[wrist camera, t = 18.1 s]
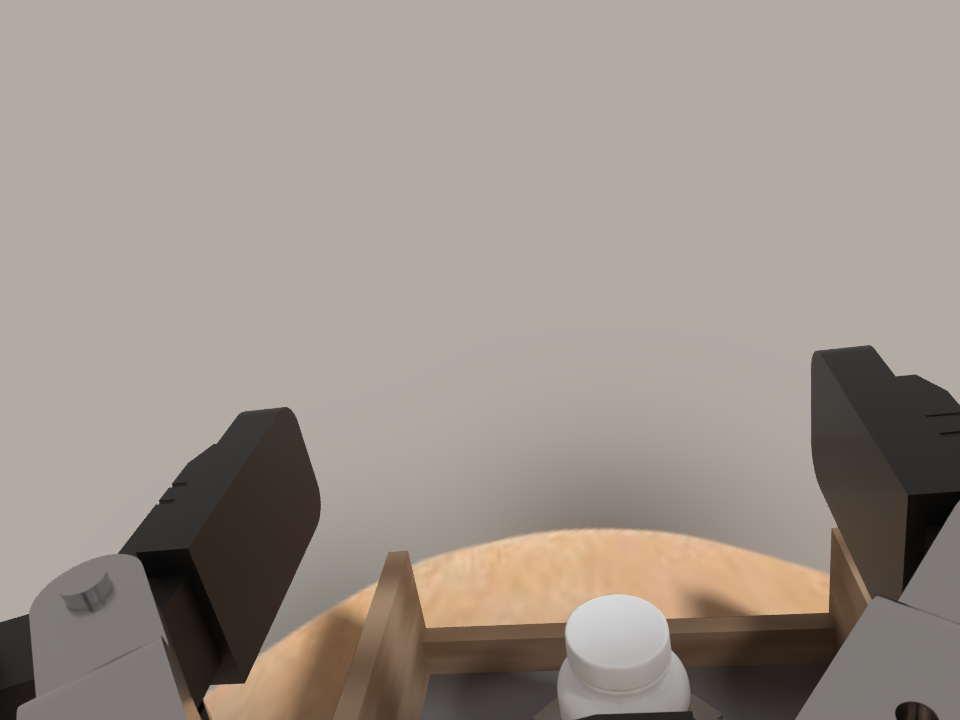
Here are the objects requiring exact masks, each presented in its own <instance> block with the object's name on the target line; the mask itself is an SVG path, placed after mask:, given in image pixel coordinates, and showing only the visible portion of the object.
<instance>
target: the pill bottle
mask: <svg viewBox="0 0 960 720" xmlns="http://www.w3.org/2000/svg"><path fill="white" fill-rule="evenodd" d="M565 642H566V652H567V657H566V659H565V660H564V662H563V664H562V666H561V669H560V672H559V675H558V682H557V693H558V701H559V707H560V713H561V719H562V720H576V719H579V718H583V717H587V716H591V715H595V714H622V713H651V712H681V711H692V707H691V693H690V685H689V680H688V676H687V673H686V670H685V668H684V666H683V664H682V662H681V661H680V659H679V658H678V657H677V655H676V654H675V653H674V652H673V651H672V650H671V644H670V635H669V628H668V624H667V621H666V619H665V617H664V615H663V614H662V613H661V611H660V610H659V609H658V608H656V607H655V606H654V605H653V604H651V603H649V602H648V601H646V600H644V599H641V598H638V597H635V596H630V595H623V594H612V595H605V596H600V597H596V598H594V599H591V600H589V601H587V602H585V603H583V604H582V605H580V606H579V607H578V608H577V609H575V610H574V611H573V613H572V614H571V615H570V617H569V619H568V621H567V623H566V627H565Z"/></svg>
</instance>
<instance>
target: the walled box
mask: <svg viewBox="0 0 960 720" xmlns="http://www.w3.org/2000/svg"><path fill="white" fill-rule="evenodd" d="M830 566H831V567H830V595H829V613H813V614H787V615H761V616H734V617H708V618H682V619H666V621H667V624H668V628H669V635H670V644H671V650H672V651H673V652H674V653H675V654H676V655H677V657H678V658H679V659H680V661H681V662H682V664H683V666H684V668H685V670H686V673H687V676H688V680H689V685H690V693H691V707H692V711H693V718H694V720H795V719H796V717H797V716H798V714H799V713H800V711H801V709H802V708H803V706H804V705H805V703H806V702H807V700H808V698H809V697H810V695H811V694H812V692H813V691H814V689H815V688H816V686H817V684H818V683H819V681H820V680H821V678H822V677H823V675H824V673H825V672H826V670H827V669H828V667H829V666H830V664H831V662H832V661H833V659H834V658H835V656H836V655H837V653H838V651H839V650H840V648H841V647H842V645H843V644H844V642H845V640H846V639H847V637H848V636H849V634H850V633H851V631H852V629H853V628H854V626H855V625H856V623H857V622H858V620H859V618H860V617H861V615H862V614H863V612H864V611H865V609H866V608H867V606H868V605H869V603H870V602H871V601H872V599H871V597H870V595H869V593H868V591H867V588H866V586H865V584H864V582H863V580H862V578H861V575H860V573H859V571H858V569H857V567H856V565H855V562H854V560H853V558H852V556H851V554H850V552H849V549H848V547H847V545H846V543H845V541H844V539H843V537H842V534H841V532H840V530H839V528H832V534H831V564H830ZM565 627H566V623H550V624H523V625H497V626H471V627H444V628H426V626H425V622H424V618H423V614H422V609H421V605H420V601H419V596H418V592H417V588H416V583H415V579H414V575H413V570H412V566H411V562H410V558H409V553H408V551H400V552H389V553H388V556H387V559H386V562H385V565H384V568H383V571H382V573H381V576H380V579H379V582H378V585H377V588H376V591H375V594H374V597H373V600H372V603H371V606H370V609H369V612H368V615H367V618H366V621H365V624H364V627H363V630H362V633H361V636H360V639H359V642H358V645H357V648H356V651H355V654H354V657H353V660H352V663H351V666H350V669H349V672H348V675H347V678H346V681H345V684H344V687H343V690H342V693H341V696H340V699H339V702H338V705H337V708H336V711H335V714H334V717H333V720H562V719H561V713H560V707H559V701H558V693H557V682H558V675H559V672H560V669H561V666H562V664H563V662H564V660H565V659H566V657H567V652H566V642H565Z"/></svg>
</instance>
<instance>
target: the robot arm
mask: <svg viewBox="0 0 960 720" xmlns="http://www.w3.org/2000/svg"><path fill="white" fill-rule="evenodd" d="M811 446H812V458H813V464H814V470H815V474H816V478H817V481H818V484H819V487H820V489H821V491H822V493H823V495H824V498H825V500H826V502H827V504H828V506H829V508H830V511H831V513H832V515H833V517H834V519H835V521H836V524H837V526H838V528H839V530H840V532H841V534H842V537H843V539H844V541H845V543H846V545H847V547H848V549H849V552H850V554H851V556H852V558H853V560H854V562H855V565H856V567H857V569H858V571H859V573H860V575H861V578H862V580H863V582H864V584H865V586H866V588H867V591H868V593H869V595H870V597H871V599H872V601H871V602H870V603H869V605H868V606H867V608H866V609H865V611H864V612H863V614H862V615H861V617H860V618H859V620H858V622H857V623H856V625H855V626H854V628H853V629H852V631H851V633H850V634H849V636H848V637H847V639H846V640H845V642H844V644H843V645H842V647H841V648H840V650H839V651H838V653H837V655H836V656H835V658H834V659H833V661H832V662H831V664H830V666H829V667H828V669H827V670H826V672H825V673H824V675H823V677H822V678H821V680H820V681H819V683H818V684H817V686H816V688H815V689H814V691H813V692H812V694H811V695H810V697H809V698H808V700H807V702H806V703H805V705H804V706H803V708H802V709H801V711H800V713H799V714H798V716H797V717H796V719H795V720H960V405H959V404H958V403H957V402H956V401H955V400H954V398H953V397H952V396H951V395H950V393H949V392H948V391H946V390H945V389H943V388H941V387H939V386H937V385H935V384H933V383H931V382H929V381H927V380H925V379H923V378H921V377H919V376H917V375H907V376H897V377H896V376H895V375H894V374H893V373H892V371H891V370H890V369H889V367H888V366H887V365H886V363H885V362H884V361H883V360H882V358H881V357H880V356H879V354H878V353H877V352H876V350H875V349H874V348H873V347H872V346H870V345H867V346H857V347H849V348H839V349H829V350H820V351H815V352H814V354H813V357H812V363H811ZM172 485H173V486H172V488H168V490H167V491H166V492H165V494H164V495H163V496H162V498H161V499H160V500H159V505H155V507H154V508H153V509H152V510H151V512H150V513H149V514H148V515H147V517H146V518H145V519H144V521H143V522H142V523H141V524H140V526H139V527H138V528H137V530H136V531H135V532H134V534H133V535H132V536H131V537H130V539H129V540H128V541H127V542H126V544H125V545H124V546H123V548H122V549H121V550H120V551H119V553H118V554H113V555H107V556H102V557H98V558H95V559H91V560H89V561H86V562H84V563H81V564H79V565H77V566H75V567H73V568H72V569H70V570H68V571H66V572H64V573H63V574H62V575H60V576H59V577H57V578H56V579H54V580H53V581H52V582H51V583H49V584H48V585H47V586H46V587H45V588H44V589H43V590H42V591H41V592H40V594H39V595H38V596H37V597H36V599H35V600H34V602H33V604H32V606H31V608H30V613H29V614H27V615H24V616H21V617H17V618H14V619H10V620H7V621H4V622H0V720H212V717H211V715H210V712H209V710H208V708H207V706H206V703H205V701H204V699H203V698H204V696H205V694H206V692H207V690H208V688H209V686H210V685H219V684H242V683H245V682H246V679H247V677H248V675H249V673H250V671H251V669H252V666H253V664H254V662H255V660H256V658H257V656H258V653H259V651H260V649H261V647H262V645H263V642H264V640H265V638H266V636H267V634H268V632H269V630H270V627H271V625H272V623H273V621H274V619H275V617H276V614H277V612H278V610H279V608H280V606H281V603H282V601H283V599H284V597H285V594H286V593H287V590H288V588H289V586H290V584H291V582H292V580H293V577H294V575H295V573H296V571H297V569H298V567H299V564H300V562H301V560H302V558H303V556H304V554H305V551H306V549H307V547H308V545H309V543H310V541H311V538H312V536H313V534H314V532H315V530H316V527H317V525H318V522H319V518H320V510H321V508H320V507H321V502H320V492H319V487H318V484H317V481H316V478H315V474H314V471H313V468H312V465H311V462H310V459H309V455H308V452H307V449H306V446H305V443H304V440H303V437H302V433H301V430H300V427H299V424H298V421H297V418H296V417H295V414H294V413H293V412H292V410H291V409H289V408H287V407H282V408H274V409H264V410H255V411H245V412H242V413H240V414H239V415H238V416H237V418H236V419H235V420H234V422H233V423H232V424H231V426H230V427H229V428H228V430H227V431H226V432H225V434H224V435H223V436H222V438H221V439H220V440H219V442H218V443H217V444H213V445H212V446H211V447H209V448H208V449H207V450H205V451H204V452H203V453H201V454H200V455H198V456H197V457H196V458H195V459H193V460H192V461H190V462H189V463H188V464H187V465H186V466H185V468H184V469H183V470H182V472H181V473H180V474H179V475H178V477H177V478H176V479H175V481H174V482H173V483H172ZM576 720H694V718H693V711H681V712H651V713H622V714H595V715H591V716H587V717H583V718H579V719H576Z"/></svg>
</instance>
